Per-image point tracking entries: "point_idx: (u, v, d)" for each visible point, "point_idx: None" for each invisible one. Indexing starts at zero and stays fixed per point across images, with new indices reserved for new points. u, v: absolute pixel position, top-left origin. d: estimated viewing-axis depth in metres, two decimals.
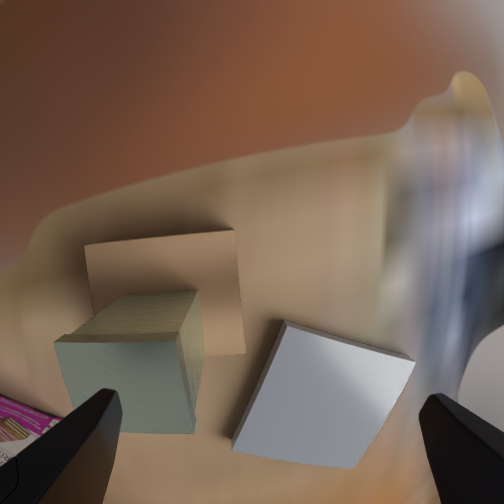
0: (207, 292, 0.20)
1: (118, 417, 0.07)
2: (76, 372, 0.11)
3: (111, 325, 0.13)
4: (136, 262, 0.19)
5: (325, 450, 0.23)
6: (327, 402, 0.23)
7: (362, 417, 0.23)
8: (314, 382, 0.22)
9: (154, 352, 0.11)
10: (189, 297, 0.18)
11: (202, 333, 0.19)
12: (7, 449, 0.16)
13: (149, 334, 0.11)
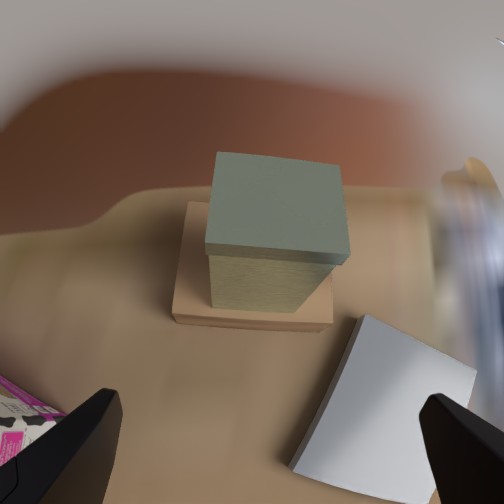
0: None
1: (118, 417, 0.07)
2: (233, 177, 0.12)
3: None
4: None
5: (399, 476, 0.16)
6: (403, 407, 0.19)
7: None
8: (390, 380, 0.19)
9: (321, 170, 0.13)
10: None
11: None
12: None
13: None
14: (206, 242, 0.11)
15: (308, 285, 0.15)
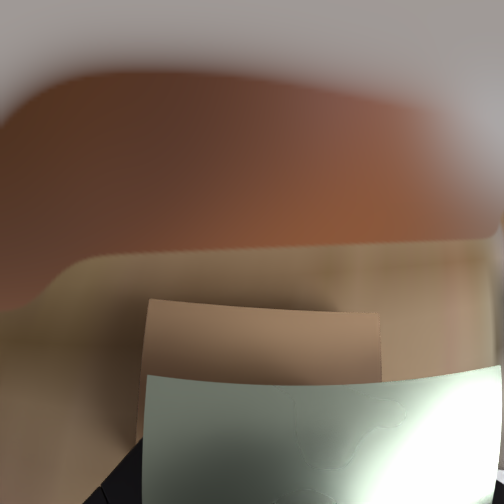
0: None
1: None
2: (209, 488, 0.03)
3: None
4: (235, 340, 0.12)
5: None
6: None
7: None
8: None
9: (467, 399, 0.03)
10: None
11: None
12: None
13: None
14: None
15: None
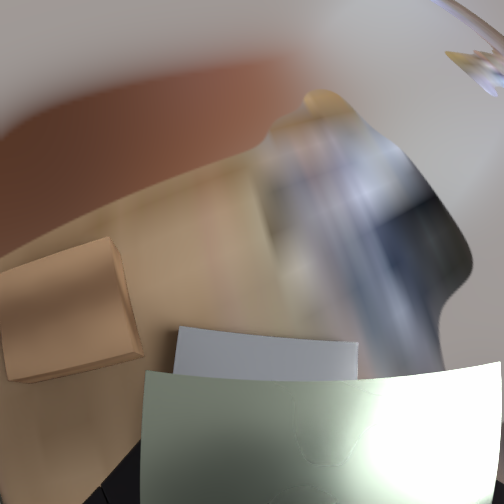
0: (90, 293, 0.18)
1: None
2: (207, 484, 0.03)
3: None
4: (34, 278, 0.18)
5: None
6: None
7: None
8: None
9: (466, 396, 0.03)
10: None
11: None
12: None
13: None
14: None
15: None
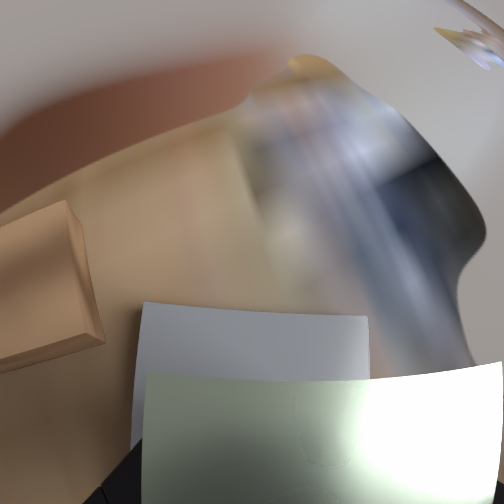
0: (40, 265, 0.14)
1: None
2: (208, 485, 0.03)
3: None
4: None
5: None
6: None
7: None
8: None
9: (468, 396, 0.03)
10: None
11: None
12: None
13: None
14: None
15: None
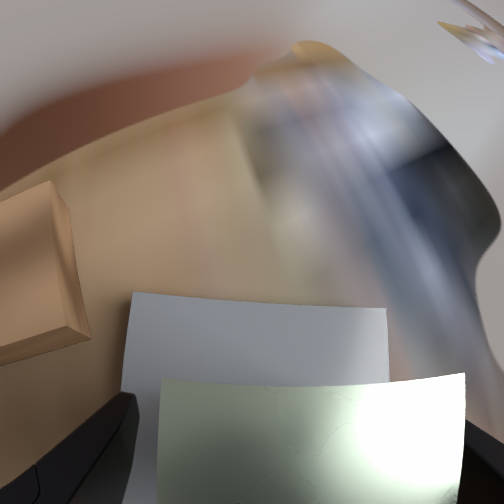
0: (20, 250, 0.12)
1: (136, 420, 0.07)
2: (210, 468, 0.04)
3: None
4: None
5: None
6: None
7: None
8: (208, 382, 0.12)
9: (430, 402, 0.04)
10: None
11: None
12: None
13: None
14: None
15: None
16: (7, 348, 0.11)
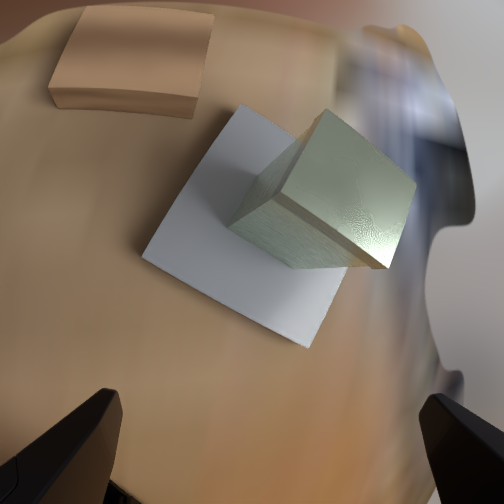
0: (179, 43, 0.17)
1: (118, 417, 0.07)
2: (330, 142, 0.11)
3: None
4: (126, 17, 0.16)
5: (271, 293, 0.20)
6: None
7: None
8: None
9: (401, 180, 0.12)
10: None
11: None
12: None
13: None
14: (281, 192, 0.11)
15: (330, 262, 0.15)
16: (136, 94, 0.17)
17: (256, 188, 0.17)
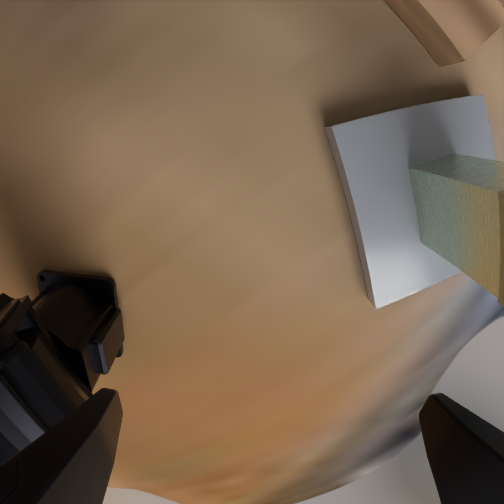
0: (475, 10, 0.12)
1: (118, 417, 0.07)
2: None
3: None
4: None
5: (393, 244, 0.18)
6: None
7: None
8: None
9: None
10: None
11: None
12: None
13: None
14: None
15: (467, 267, 0.13)
16: (421, 12, 0.12)
17: (460, 164, 0.14)
